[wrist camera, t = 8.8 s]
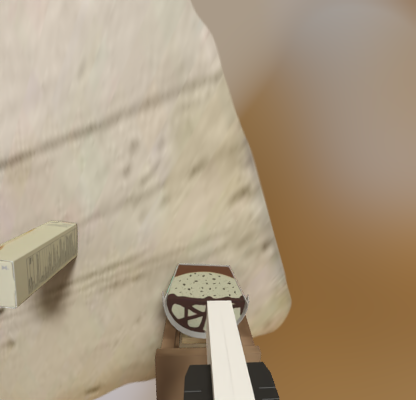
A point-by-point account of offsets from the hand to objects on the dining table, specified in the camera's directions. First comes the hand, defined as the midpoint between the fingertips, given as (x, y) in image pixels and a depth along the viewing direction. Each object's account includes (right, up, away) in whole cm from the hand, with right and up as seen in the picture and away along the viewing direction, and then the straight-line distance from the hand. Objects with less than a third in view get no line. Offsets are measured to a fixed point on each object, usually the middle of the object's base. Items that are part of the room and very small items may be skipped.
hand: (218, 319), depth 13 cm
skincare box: (-25, +1, +22) cm, 33 cm away
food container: (-2, -7, +25) cm, 26 cm away
